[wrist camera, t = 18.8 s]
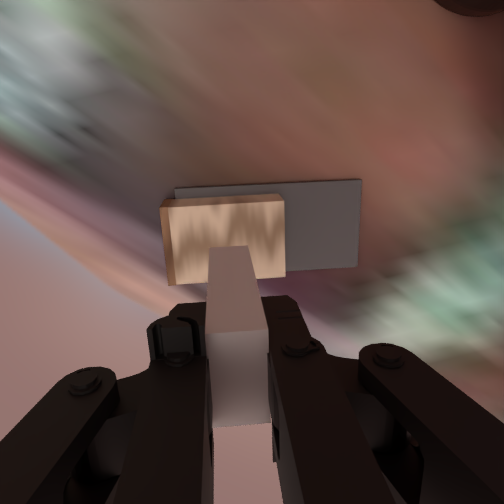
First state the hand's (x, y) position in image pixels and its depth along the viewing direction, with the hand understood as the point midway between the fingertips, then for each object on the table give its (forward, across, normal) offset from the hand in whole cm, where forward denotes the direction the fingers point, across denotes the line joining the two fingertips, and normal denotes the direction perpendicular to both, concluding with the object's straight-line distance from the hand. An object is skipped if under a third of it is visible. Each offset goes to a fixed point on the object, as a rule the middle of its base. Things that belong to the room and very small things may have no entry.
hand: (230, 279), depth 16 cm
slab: (+26, +6, -6) cm, 27 cm away
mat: (+28, +5, -6) cm, 29 cm away
